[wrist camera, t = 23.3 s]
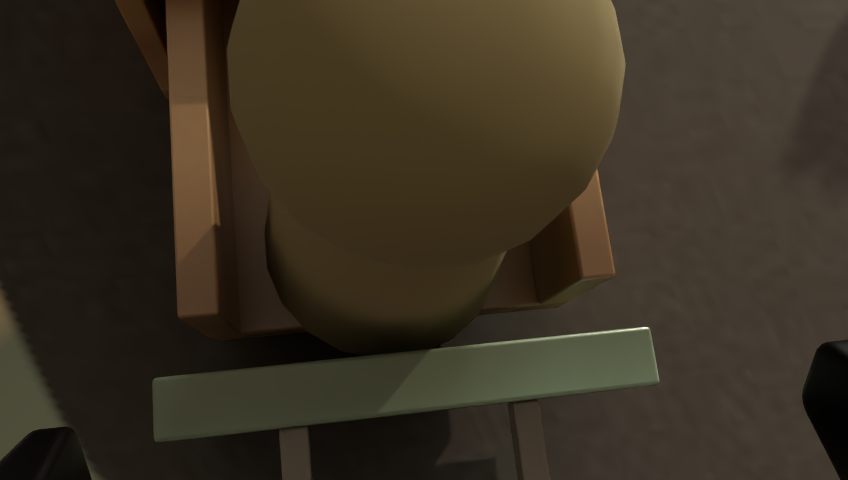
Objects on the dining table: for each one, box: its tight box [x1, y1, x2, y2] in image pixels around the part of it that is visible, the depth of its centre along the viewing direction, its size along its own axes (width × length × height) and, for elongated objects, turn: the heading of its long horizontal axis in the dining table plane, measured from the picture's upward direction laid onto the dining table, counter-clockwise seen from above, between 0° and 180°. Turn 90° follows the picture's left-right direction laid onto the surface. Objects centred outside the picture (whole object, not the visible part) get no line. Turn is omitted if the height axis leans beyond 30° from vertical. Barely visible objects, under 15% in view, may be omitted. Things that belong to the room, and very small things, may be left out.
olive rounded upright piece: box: [227, 0, 626, 356], centre depth 14 cm, size 6×6×11 cm
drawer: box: [152, 0, 659, 480], centre depth 18 cm, size 22×10×5 cm, turn 7°
